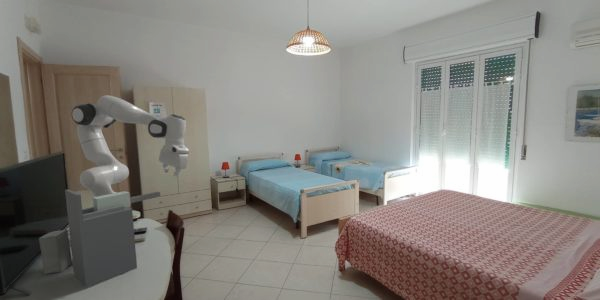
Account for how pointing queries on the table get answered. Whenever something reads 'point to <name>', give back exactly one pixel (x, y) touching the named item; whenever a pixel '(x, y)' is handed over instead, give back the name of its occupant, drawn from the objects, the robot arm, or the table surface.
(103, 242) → the caddy bay
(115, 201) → the pale block gray handle
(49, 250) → the skincare box
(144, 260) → the table surface
